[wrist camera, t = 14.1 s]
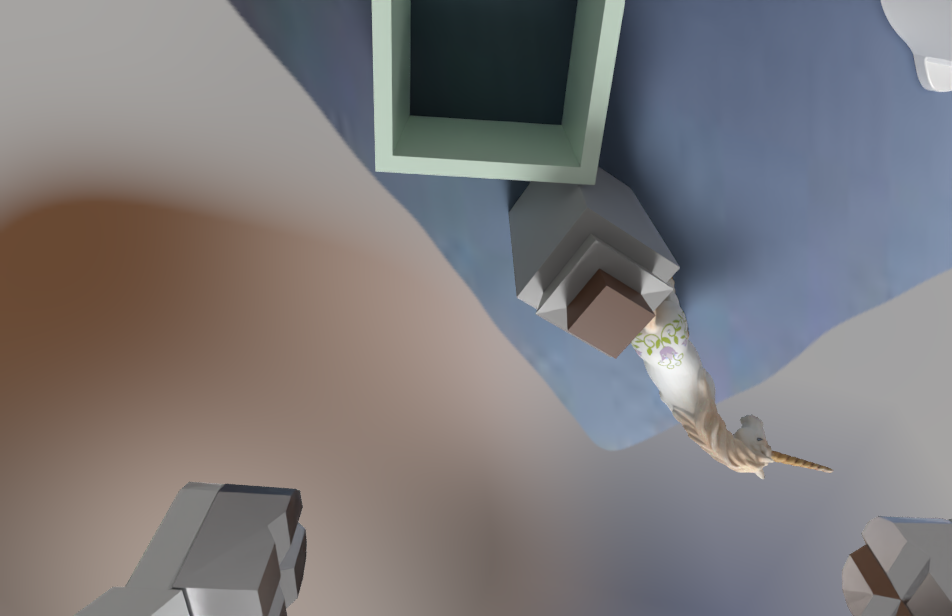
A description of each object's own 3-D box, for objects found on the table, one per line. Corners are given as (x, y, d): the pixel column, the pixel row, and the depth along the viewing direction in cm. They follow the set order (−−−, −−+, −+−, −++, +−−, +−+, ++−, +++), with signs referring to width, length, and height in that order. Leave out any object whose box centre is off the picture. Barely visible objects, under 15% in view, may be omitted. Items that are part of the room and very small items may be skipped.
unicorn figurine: (694, 406, 58) (747, 521, 46) (556, 277, 51) (578, 373, 39) (761, 362, 55) (834, 472, 43) (625, 219, 48) (670, 304, 37)
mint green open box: (602, -68, 38) (637, -72, 30) (573, 139, 45) (594, 185, 36) (395, -83, 38) (369, -92, 29) (396, 128, 45) (375, 171, 36)
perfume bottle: (560, 140, 45) (601, 241, 30) (631, 188, 47) (704, 307, 31) (508, 212, 48) (520, 339, 32) (577, 255, 50) (619, 394, 34)
